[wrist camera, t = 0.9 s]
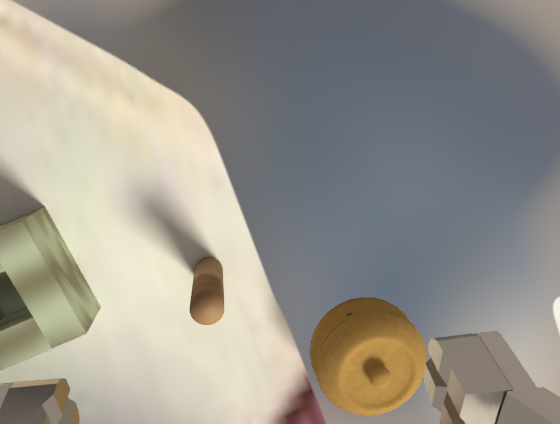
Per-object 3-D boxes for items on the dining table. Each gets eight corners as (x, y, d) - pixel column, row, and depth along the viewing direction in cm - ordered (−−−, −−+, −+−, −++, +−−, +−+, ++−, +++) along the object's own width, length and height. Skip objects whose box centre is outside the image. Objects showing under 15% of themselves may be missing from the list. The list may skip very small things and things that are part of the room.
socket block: (100, 307, 52) (86, 333, 47) (-5, 352, 52) (-33, 384, 46) (44, 206, 49) (21, 221, 44) (-68, 253, 49) (-106, 275, 43)
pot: (283, 347, 56) (297, 399, 47) (346, 266, 55) (374, 302, 45) (361, 396, 59) (390, 454, 49) (422, 320, 58) (464, 364, 48)
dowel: (227, 277, 54) (229, 316, 44) (201, 288, 53) (198, 330, 44) (215, 253, 53) (215, 287, 43) (189, 264, 53) (183, 301, 43)
